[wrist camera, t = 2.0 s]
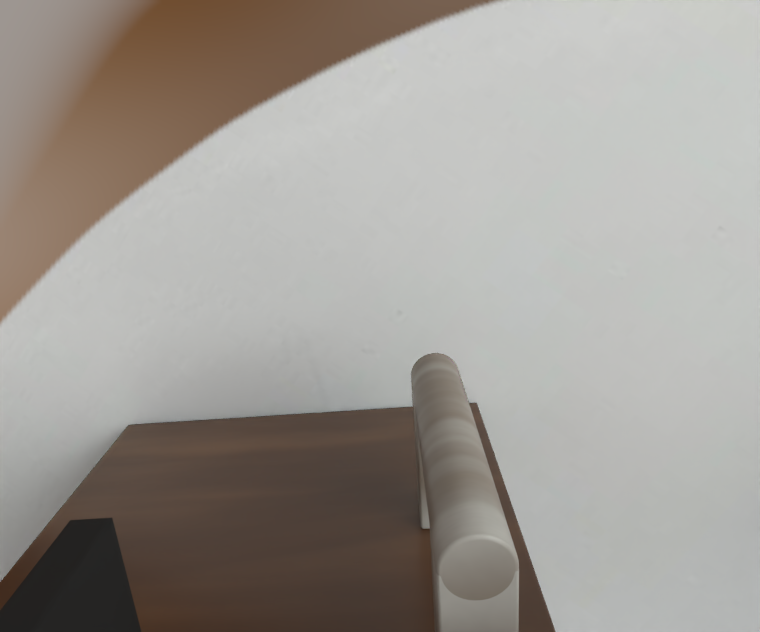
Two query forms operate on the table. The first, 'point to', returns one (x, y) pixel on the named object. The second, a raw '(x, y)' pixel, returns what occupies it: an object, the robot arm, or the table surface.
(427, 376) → the cupboard door
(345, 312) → the table surface
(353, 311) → the table surface
